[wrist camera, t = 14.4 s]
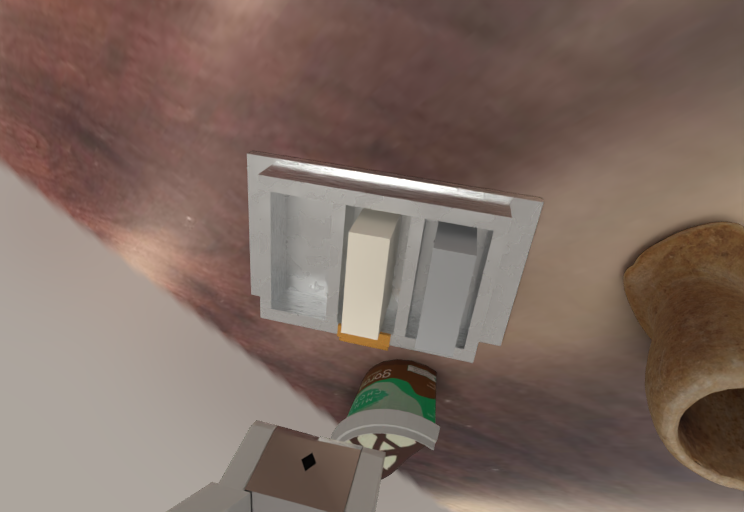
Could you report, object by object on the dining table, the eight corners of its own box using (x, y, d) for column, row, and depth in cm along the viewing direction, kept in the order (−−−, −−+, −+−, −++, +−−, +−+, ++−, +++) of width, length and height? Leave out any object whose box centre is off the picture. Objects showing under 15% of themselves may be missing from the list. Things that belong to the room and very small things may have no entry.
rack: (542, 197, 36) (550, 221, 32) (498, 344, 43) (500, 379, 39) (252, 150, 39) (224, 166, 35) (255, 294, 46) (233, 321, 42)
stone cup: (577, 272, 38) (627, 406, 25) (735, 194, 33) (902, 310, 20) (662, 395, 42) (744, 567, 29) (816, 342, 37) (1002, 522, 24)
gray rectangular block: (477, 222, 37) (476, 256, 31) (456, 313, 41) (452, 356, 36) (439, 215, 37) (433, 248, 32) (422, 306, 41) (414, 348, 36)
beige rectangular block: (402, 208, 37) (390, 239, 32) (390, 299, 42) (377, 340, 37) (366, 202, 38) (348, 231, 33) (358, 293, 42) (341, 332, 37)
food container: (396, 327, 44) (376, 403, 36) (446, 363, 45) (438, 446, 36) (329, 394, 50) (297, 473, 42) (373, 424, 51) (352, 508, 42)
